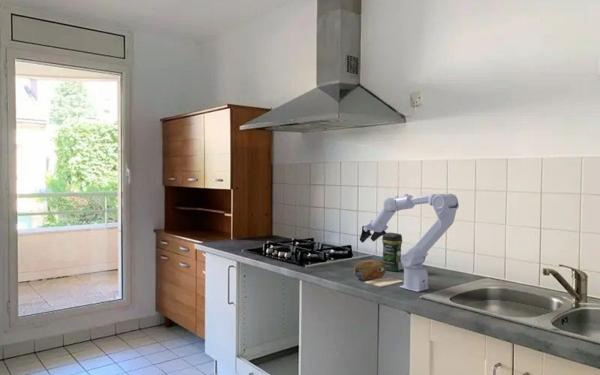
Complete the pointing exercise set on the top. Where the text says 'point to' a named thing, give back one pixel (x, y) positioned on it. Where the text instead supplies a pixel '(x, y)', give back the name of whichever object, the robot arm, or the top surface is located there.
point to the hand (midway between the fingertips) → (366, 240)
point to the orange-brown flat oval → (369, 270)
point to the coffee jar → (392, 251)
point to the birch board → (383, 281)
